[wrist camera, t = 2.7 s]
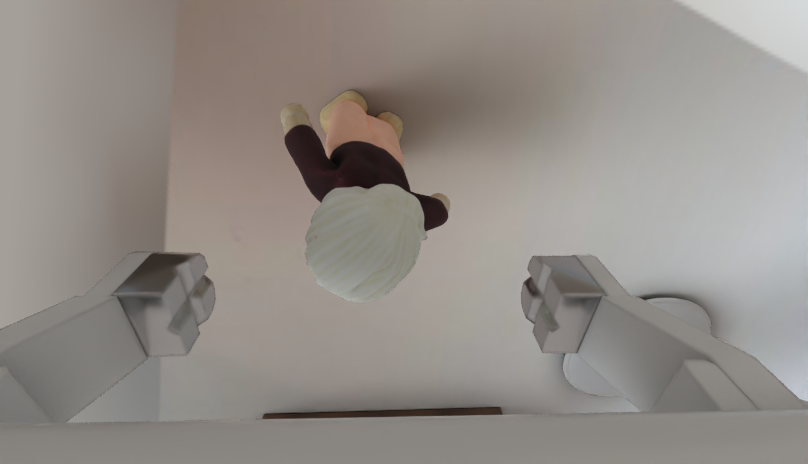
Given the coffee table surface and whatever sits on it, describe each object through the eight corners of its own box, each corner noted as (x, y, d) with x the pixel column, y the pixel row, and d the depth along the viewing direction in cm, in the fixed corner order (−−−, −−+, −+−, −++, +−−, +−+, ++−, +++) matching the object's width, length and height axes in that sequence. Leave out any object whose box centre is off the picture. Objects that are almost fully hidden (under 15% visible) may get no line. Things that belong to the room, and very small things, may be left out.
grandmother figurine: (293, 139, 20) (188, 297, 9) (311, 68, 18) (206, 157, 7) (422, 184, 21) (464, 359, 11) (449, 124, 20) (533, 262, 9)
